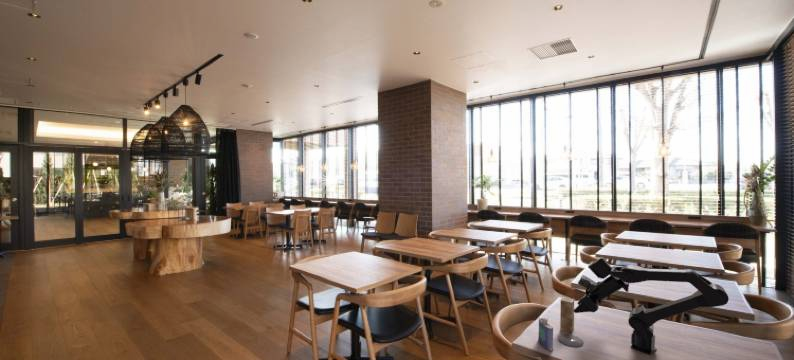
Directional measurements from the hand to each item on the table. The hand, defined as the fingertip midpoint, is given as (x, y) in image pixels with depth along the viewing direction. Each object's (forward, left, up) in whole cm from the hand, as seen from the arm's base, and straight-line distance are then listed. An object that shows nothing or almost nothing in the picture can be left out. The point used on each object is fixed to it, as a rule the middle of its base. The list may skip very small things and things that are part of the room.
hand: (576, 307), depth 146 cm
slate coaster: (-3, +9, -10) cm, 14 cm away
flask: (+1, +20, -10) cm, 23 cm away
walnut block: (+3, +1, -10) cm, 11 cm away
